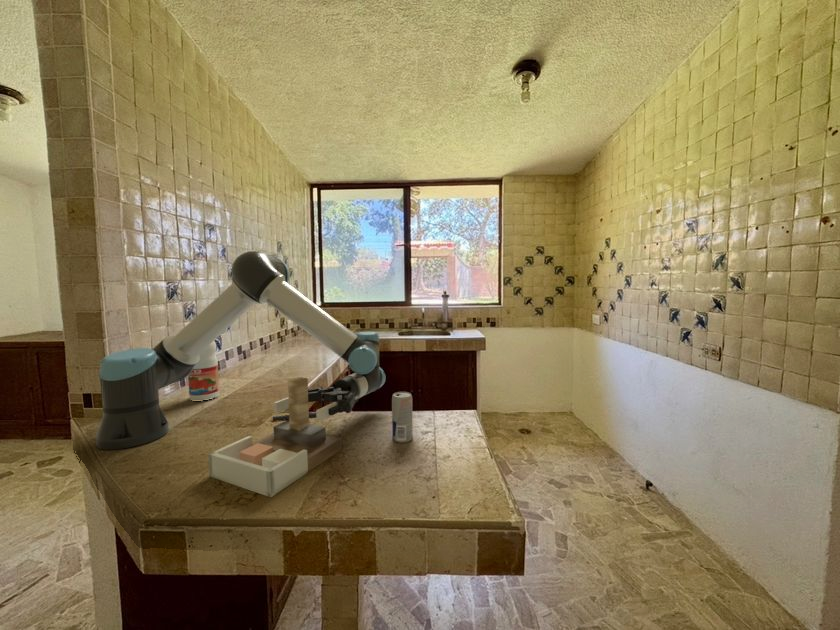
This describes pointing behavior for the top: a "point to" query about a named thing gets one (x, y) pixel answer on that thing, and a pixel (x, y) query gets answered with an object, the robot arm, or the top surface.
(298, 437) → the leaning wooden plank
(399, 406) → the energy drink
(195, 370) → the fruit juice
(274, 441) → the board
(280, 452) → the tile cream
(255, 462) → the tile terracotta
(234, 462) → the tray
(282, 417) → the bracket
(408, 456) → the top surface
